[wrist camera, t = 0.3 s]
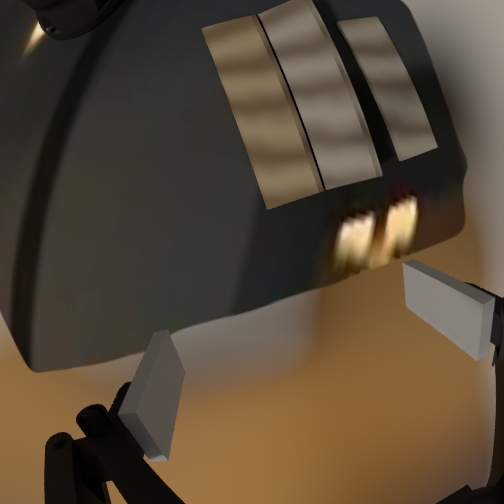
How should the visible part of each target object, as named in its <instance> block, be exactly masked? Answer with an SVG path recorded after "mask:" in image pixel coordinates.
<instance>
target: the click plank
mask: <svg viewBox="0 0 504 504" xmlns="http://www.w3.org/2000/svg"><path fill="white" fill-rule="evenodd" d="M258 15H259V17H260V19H261V21H262V24H263V26H264V28H265V30H266V32H267V34H268V37H269V39H270V41H271V43H272V46H273V48H274V50H275V52H276V55H277V57H278V59H279V62H280V64H281V66H282V69H283V71H284V74H285V76H286V78H287V81H288V83H289V86H290V88H291V91H292V93H293V96H294V99H295V101H296V104H297V106H298V109H299V112H300V114H301V117H302V120H303V122H304V125H305V128H306V131H307V133H308V136H309V139H310V142H311V145H312V148H313V151H314V154H315V157H316V160H317V163H318V166H319V169H320V172H321V175H322V178H323V181H324V184H325V187H326V190H328V189H332V188H335V187H339V186H343V185H347V184H351V183H355V182H359V181H363V180H367V179H371V178H375V177H379V176H383V174H382V171H381V167H380V164H379V161H378V157H377V154H376V151H375V148H374V144H373V141H372V138H371V135H370V132H369V129H368V126H367V123H366V121H365V118H364V115H363V112H362V110H361V107H360V104H359V102H358V99H357V96H356V94H355V91H354V89H353V86H352V84H351V81H350V79H349V76H348V74H347V72H346V69H345V67H344V65H343V62H342V60H341V58H340V56H339V53H338V51H337V49H336V47H335V45H334V43H333V41H332V39H331V36H330V34H329V32H328V30H327V28H326V26H325V24H324V22H323V21H322V19H321V17H320V15H319V13H318V11H317V9H316V7H315V5H314V4H313V2H312V0H291V1H289V2H286V3H284V4H281V5H279V6H277V7H274V8H272V9H270V10H267V11H265V12H263V13H261V14H258Z"/></svg>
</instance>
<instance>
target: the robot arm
mask: <svg viewBox="0 0 504 504" xmlns="http://www.w3.org/2000/svg"><path fill="white" fill-rule="evenodd" d="M23 1H24V2H25V3H26V4H28V5H29V6H30V7H31V8H33V9H34V11H35V13H36V16H37V19H38V21H39V24H40V27H41V29H42V30H43V31H44V32H45V33H46V34H47V35H49V36H50V37H51V38H53V39H56V40H68V39H72V38H75V37H78V36H80V35H83V34H85V33H87V32H88V31H90V30H92V29H93V28H94V27H96V26H97V25H99V24H100V23H101V22H102V21H103V20H104V19H105V18H106V17H107V16H108V15H109V14H110V13H111V12H112V11H113V9H114V8H115V6H116V5H117V3H118V1H119V0H23ZM403 272H404V283H405V297H406V307H407V308H408V309H410V310H411V311H412V312H414V313H415V314H416V315H418V316H419V317H420V318H422V319H423V320H424V321H426V322H427V323H428V324H430V325H431V326H432V327H434V328H435V329H436V330H438V331H439V332H440V333H442V334H443V335H444V336H446V337H447V338H448V339H449V340H451V341H452V342H453V343H455V344H456V345H457V346H458V347H460V348H461V349H462V350H464V351H465V352H466V353H467V354H469V355H470V356H471V357H473V358H474V359H475V360H476V361H477V360H479V359H481V358H482V357H484V356H485V355H487V354H488V352H489V346H490V342H491V343H493V344H494V345H495V351H494V357H493V362H492V366H494V363H495V374H496V419H495V436H494V448H493V457H492V465H491V472H490V477H489V480H488V483H487V485H486V487H481V488H478V489H474V490H471V488H470V487H469V486H468V485H466V486H464V487H463V488H461V489H460V490H458V491H456V492H455V493H453V494H451V495H450V496H448V497H446V498H445V499H443V500H441V501H439V502H438V503H436V504H504V297H503V298H501V297H499V296H497V295H495V294H493V293H491V292H489V291H486V290H485V289H483V288H480V287H479V286H476V285H475V284H471V283H466V282H462V281H460V280H458V279H456V278H454V277H451V276H449V275H447V274H445V273H443V272H441V271H438V270H436V269H434V268H432V267H430V266H428V265H425V264H423V263H421V262H419V261H416V260H414V259H412V260H409V261H406V262H404V263H403ZM184 375H185V370H184V368H183V366H182V363H181V361H180V358H179V356H178V354H177V351H176V349H175V347H174V344H173V342H172V339H171V337H170V334H169V332H168V329H167V330H163V331H158V332H154V334H153V336H152V338H151V341H150V343H149V345H148V347H147V349H146V351H145V354H144V356H143V358H142V360H141V362H140V365H139V367H138V369H137V371H136V374H135V376H134V378H133V380H132V382H127V383H125V384H124V385H123V386H122V387H121V388H120V389H119V391H118V393H117V395H116V398H115V399H114V401H113V404H112V406H111V408H110V410H109V412H108V411H107V409H106V408H105V407H104V406H103V405H101V404H95V405H90V406H88V407H86V408H84V409H83V410H81V411H80V413H79V414H78V415H77V417H76V423H77V424H78V425H79V427H80V428H81V430H82V431H83V432H84V434H85V435H86V437H84V438H80V439H77V440H74V439H73V438H72V437H71V435H70V434H68V433H66V432H60V433H57V434H55V435H53V436H52V437H50V438H49V440H48V441H47V442H46V446H45V467H44V468H45V470H44V491H45V492H44V493H45V504H111V500H110V497H109V493H108V489H107V484H106V482H107V481H111V480H112V481H113V483H114V484H115V486H116V487H117V489H118V490H119V492H120V493H121V495H122V496H123V498H124V499H125V501H126V502H127V504H185V503H184V502H183V501H182V500H181V499H180V498H179V497H178V496H177V495H176V494H175V493H174V492H173V491H172V490H171V489H170V488H169V487H168V486H167V485H166V484H165V483H164V481H163V480H162V479H161V478H160V477H159V476H158V475H157V474H156V473H155V472H154V470H153V469H152V468H151V467H150V466H149V465H148V464H147V463H146V461H145V460H144V459H143V457H144V453H145V455H146V456H147V457H148V459H149V460H150V461H151V462H159V461H168V459H169V454H170V448H171V442H172V437H173V431H174V426H175V420H176V415H177V410H178V405H179V399H180V395H181V390H182V385H183V380H184Z"/></svg>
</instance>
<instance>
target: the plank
mask: <svg viewBox="0 0 504 504" xmlns="http://www.w3.org/2000/svg"><path fill="white" fill-rule="evenodd" d="M336 25H337V26H338V28H339V30H340V32H341V33H342V35H343V37H344V39H345V40H346V42H347V44H348V46H349V48H350V49H351V51H352V53H353V55H354V57H355V59H356V61H357V63H358V65H359V67H360V69H361V71H362V73H363V75H364V77H365V79H366V81H367V83H368V85H369V87H370V89H371V91H372V94H373V96H374V98H375V100H376V103H377V105H378V107H379V110H380V112H381V114H382V117H383V119H384V121H385V124H386V126H387V129H388V131H389V134H390V137H391V139H392V142H393V145H394V147H395V150H396V153H397V156H398V158H399V161H403V160H405V159H408V158H411V157H413V156H416V155H418V154H421V153H424V152H426V151H429V150H432V149H434V148H437V144H436V141H435V138H434V135H433V132H432V129H431V127H430V124H429V121H428V119H427V116H426V113H425V111H424V108H423V106H422V104H421V101H420V99H419V96H418V94H417V92H416V89H415V87H414V85H413V83H412V81H411V78H410V76H409V74H408V72H407V70H406V68H405V66H404V64H403V62H402V60H401V58H400V56H399V54H398V52H397V50H396V48H395V46H394V45H393V43H392V41H391V39H390V37H389V36H388V34H387V32H386V30H385V29H384V27H383V25H382V23H381V22H380V20H379V19H378V17H369V18H360V19H352V20H345V21H339V22H337V23H336Z"/></svg>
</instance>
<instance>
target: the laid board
mask: <svg viewBox="0 0 504 504" xmlns="http://www.w3.org/2000/svg"><path fill="white" fill-rule="evenodd" d="M202 32H203V35H204V37H205V40H206V42H207V45H208V48H209V50H210V53H211V55H212V58H213V60H214V63H215V66H216V68H217V71H218V74H219V76H220V79H221V82H222V84H223V87H224V90H225V92H226V95H227V98H228V100H229V103H230V106H231V109H232V111H233V114H234V117H235V119H236V122H237V125H238V128H239V131H240V133H241V136H242V139H243V142H244V144H245V147H246V150H247V153H248V156H249V159H250V161H251V164H252V167H253V170H254V173H255V176H256V179H257V181H258V184H259V187H260V190H261V193H262V196H263V199H264V202H265V205H266V208H267V209H271V208H274V207H277V206H280V205H283V204H286V203H289V202H292V201H295V200H298V199H301V198H304V197H307V196H310V195H313V194H316V193H319V192H322V191H324V189H323V186H322V183H321V180H320V177H319V174H318V171H317V167H316V164H315V161H314V158H313V155H312V153H311V150H310V147H309V144H308V141H307V138H306V135H305V132H304V130H303V127H302V124H301V121H300V119H299V116H298V113H297V111H296V108H295V105H294V103H293V100H292V98H291V95H290V93H289V90H288V87H287V85H286V82H285V80H284V78H283V75H282V73H281V70H280V68H279V65H278V63H277V61H276V58H275V56H274V54H273V51H272V49H271V47H270V45H269V42H268V40H267V38H266V36H265V33H264V31H263V29H262V27H261V25H260V23H259V21H258V18H257V16H256V15H251V16H247V17H243V18H238V19H234V20H230V21H226V22H222V23H219V24H215V25H212V26H208V27H205V28H202Z"/></svg>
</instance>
